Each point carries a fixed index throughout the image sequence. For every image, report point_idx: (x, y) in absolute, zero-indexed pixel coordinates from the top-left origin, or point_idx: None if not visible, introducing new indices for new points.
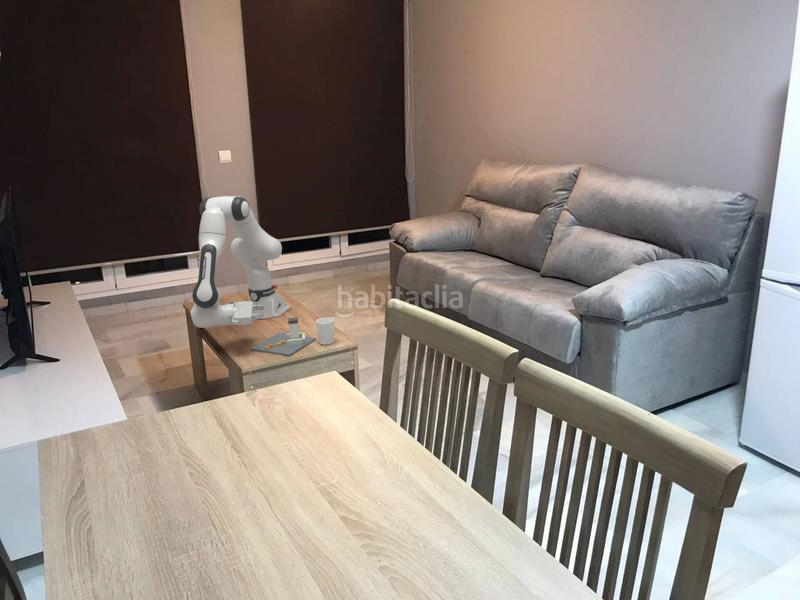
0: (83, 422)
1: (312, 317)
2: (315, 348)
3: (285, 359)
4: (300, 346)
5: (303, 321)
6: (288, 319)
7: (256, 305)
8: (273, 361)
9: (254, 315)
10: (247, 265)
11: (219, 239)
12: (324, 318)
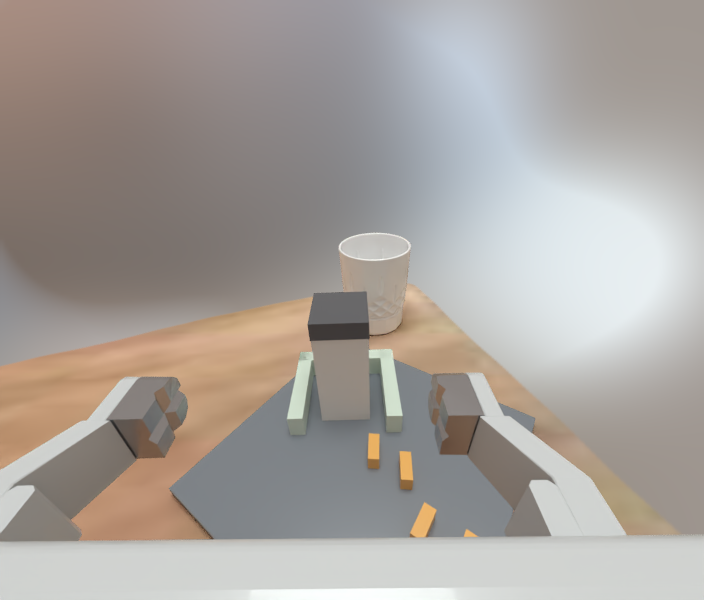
0: None
1: (72, 353)
2: (431, 343)
3: (581, 444)
4: (426, 379)
5: (84, 380)
6: (337, 322)
7: (31, 469)
8: (641, 512)
9: (588, 487)
10: None
11: None
12: (341, 249)
